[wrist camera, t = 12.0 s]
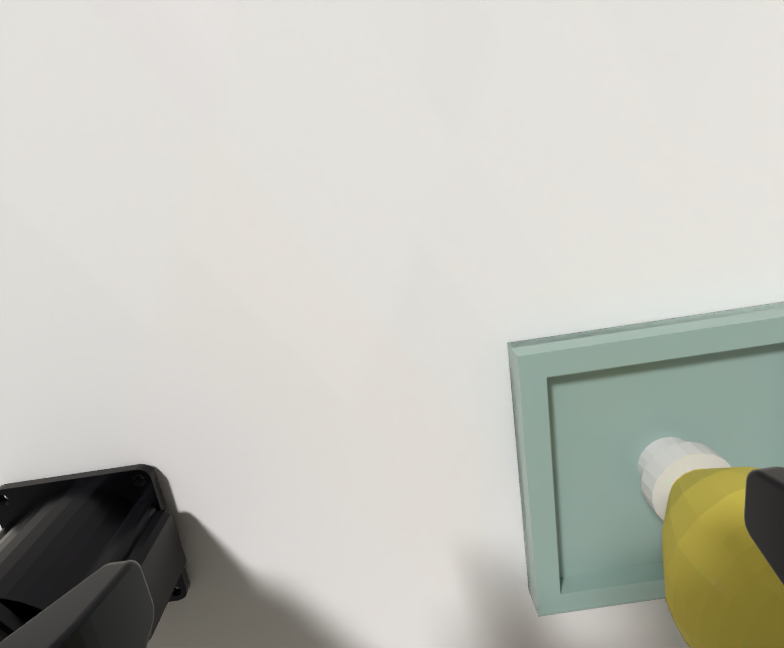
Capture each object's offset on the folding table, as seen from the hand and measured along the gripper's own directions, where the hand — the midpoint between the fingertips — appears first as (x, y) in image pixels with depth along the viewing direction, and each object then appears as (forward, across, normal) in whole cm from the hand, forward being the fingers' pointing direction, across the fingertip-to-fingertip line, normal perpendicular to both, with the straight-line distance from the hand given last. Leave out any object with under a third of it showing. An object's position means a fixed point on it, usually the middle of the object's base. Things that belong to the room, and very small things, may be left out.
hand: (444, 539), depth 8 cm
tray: (+13, -10, +8) cm, 18 cm away
